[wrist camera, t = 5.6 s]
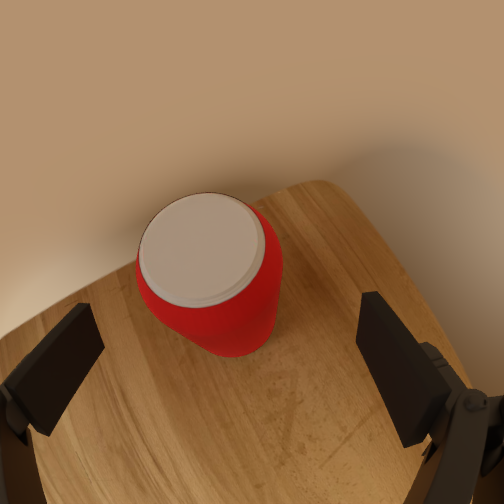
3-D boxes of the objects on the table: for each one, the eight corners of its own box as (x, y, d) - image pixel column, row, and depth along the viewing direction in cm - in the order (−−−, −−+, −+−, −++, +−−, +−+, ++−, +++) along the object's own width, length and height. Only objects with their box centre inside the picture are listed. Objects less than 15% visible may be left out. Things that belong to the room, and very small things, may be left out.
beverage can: (186, 291, 22) (118, 200, 11) (262, 271, 22) (257, 162, 12) (202, 367, 19) (128, 343, 8) (285, 345, 20) (310, 297, 9)
